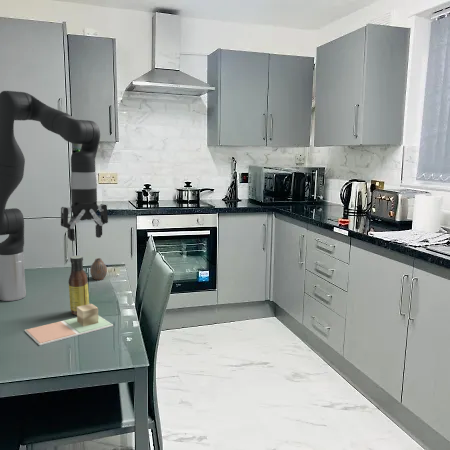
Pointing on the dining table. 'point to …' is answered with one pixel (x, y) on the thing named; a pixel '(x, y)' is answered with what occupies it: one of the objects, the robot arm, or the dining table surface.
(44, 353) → the dining table surface
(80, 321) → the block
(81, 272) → the sauce bottle
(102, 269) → the brown rounded lump
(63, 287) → the dining table surface
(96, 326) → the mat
